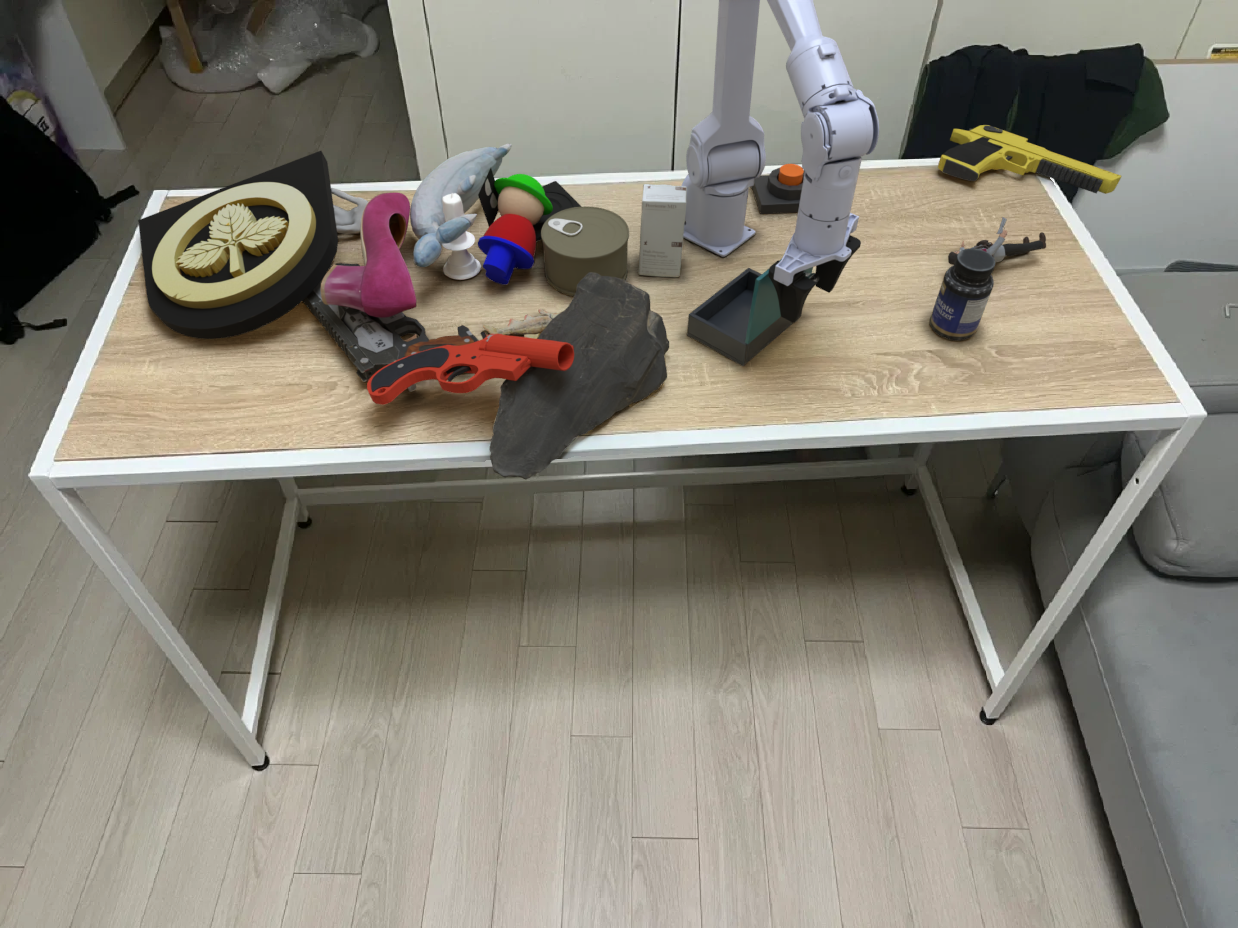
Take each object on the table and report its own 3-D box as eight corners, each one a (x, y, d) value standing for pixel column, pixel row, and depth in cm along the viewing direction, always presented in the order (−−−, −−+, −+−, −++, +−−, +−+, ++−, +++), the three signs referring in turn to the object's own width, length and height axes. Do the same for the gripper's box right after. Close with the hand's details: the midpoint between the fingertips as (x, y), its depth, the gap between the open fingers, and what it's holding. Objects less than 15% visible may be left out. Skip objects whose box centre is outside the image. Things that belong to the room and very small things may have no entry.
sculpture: (537, 212, 120) (525, 158, 141) (500, 165, 116) (494, 115, 137) (429, 291, 124) (433, 227, 144) (390, 248, 120) (400, 188, 141)
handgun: (1096, 209, 137) (1126, 167, 145) (930, 149, 147) (966, 112, 155) (1087, 229, 139) (1117, 186, 148) (924, 169, 149) (960, 132, 157)
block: (760, 214, 142) (762, 194, 139) (750, 185, 147) (753, 165, 144) (825, 211, 142) (828, 190, 139) (813, 182, 147) (817, 162, 145)
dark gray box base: (686, 335, 123) (688, 314, 120) (745, 288, 130) (748, 267, 127) (743, 366, 119) (746, 345, 116) (801, 316, 126) (805, 295, 123)
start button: (780, 187, 141) (782, 176, 140) (776, 174, 143) (777, 163, 142) (804, 186, 141) (806, 175, 140) (799, 173, 143) (800, 162, 142)
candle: (455, 253, 135) (443, 179, 126) (487, 262, 133) (478, 188, 124) (436, 274, 131) (422, 200, 122) (469, 284, 130) (458, 209, 121)
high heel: (386, 177, 132) (470, 186, 131) (393, 234, 137) (474, 243, 136) (309, 258, 112) (408, 270, 111) (321, 321, 118) (415, 333, 116)
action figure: (1055, 208, 129) (966, 222, 124) (1062, 257, 129) (974, 273, 125) (1008, 222, 137) (923, 236, 133) (1015, 269, 138) (931, 284, 134)
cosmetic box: (638, 276, 131) (639, 201, 122) (639, 257, 134) (641, 182, 125) (681, 278, 131) (686, 203, 122) (682, 259, 134) (687, 184, 125)
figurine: (263, 247, 140) (392, 254, 139) (245, 235, 135) (380, 243, 133) (269, 183, 141) (398, 190, 139) (252, 169, 135) (386, 176, 134)
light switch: (496, 206, 136) (555, 179, 139) (501, 228, 140) (559, 202, 142) (528, 241, 131) (589, 213, 133) (533, 264, 134) (592, 236, 137)
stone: (568, 286, 122) (431, 450, 108) (611, 247, 112) (465, 423, 98) (655, 368, 126) (533, 537, 112) (705, 338, 115) (576, 520, 101)
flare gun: (361, 406, 111) (440, 337, 119) (505, 435, 98) (582, 355, 107) (350, 385, 109) (431, 316, 118) (495, 411, 96) (574, 332, 105)
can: (605, 308, 127) (604, 266, 122) (528, 284, 130) (524, 242, 125) (642, 260, 134) (643, 219, 129) (568, 238, 137) (566, 197, 132)
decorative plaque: (132, 354, 117) (128, 206, 134) (152, 374, 121) (146, 228, 137) (343, 274, 118) (314, 137, 134) (357, 297, 121) (327, 161, 138)
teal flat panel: (755, 278, 109) (781, 292, 107) (818, 229, 115) (843, 241, 114) (744, 342, 116) (768, 356, 115) (804, 292, 123) (827, 305, 121)
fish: (566, 300, 125) (577, 328, 122) (567, 309, 126) (577, 336, 124) (481, 320, 123) (490, 348, 120) (482, 328, 124) (491, 356, 122)
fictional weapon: (389, 261, 135) (290, 296, 128) (386, 239, 132) (285, 274, 126) (490, 367, 120) (384, 412, 113) (488, 345, 117) (379, 390, 111)
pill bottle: (920, 317, 125) (941, 249, 117) (960, 308, 127) (984, 240, 118) (944, 346, 122) (967, 277, 113) (985, 337, 123) (1011, 268, 115)
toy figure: (464, 276, 132) (501, 184, 135) (527, 297, 132) (563, 204, 135) (455, 249, 123) (495, 151, 126) (522, 271, 123) (560, 173, 126)
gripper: (819, 250, 99) (800, 347, 109) (889, 193, 106) (866, 288, 116) (764, 224, 102) (751, 321, 112) (836, 170, 109) (818, 265, 119)
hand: (806, 303), depth 115 cm, fingers open, 7 cm apart
